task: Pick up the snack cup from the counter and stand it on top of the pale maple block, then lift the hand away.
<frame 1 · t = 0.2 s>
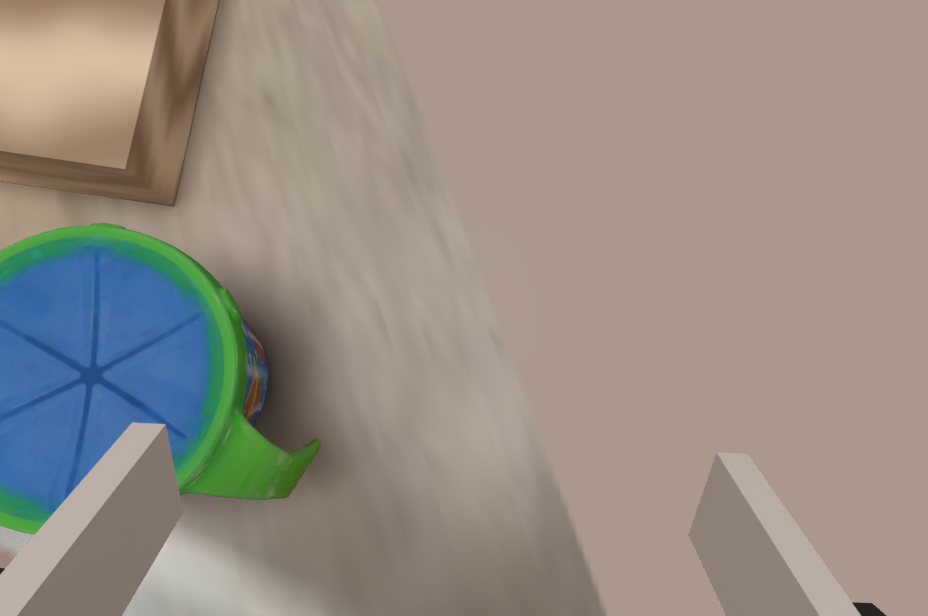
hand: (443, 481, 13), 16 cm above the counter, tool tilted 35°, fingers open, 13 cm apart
maple block: (70, 66, 30), on the counter
snack cup: (198, 380, 29), on the counter
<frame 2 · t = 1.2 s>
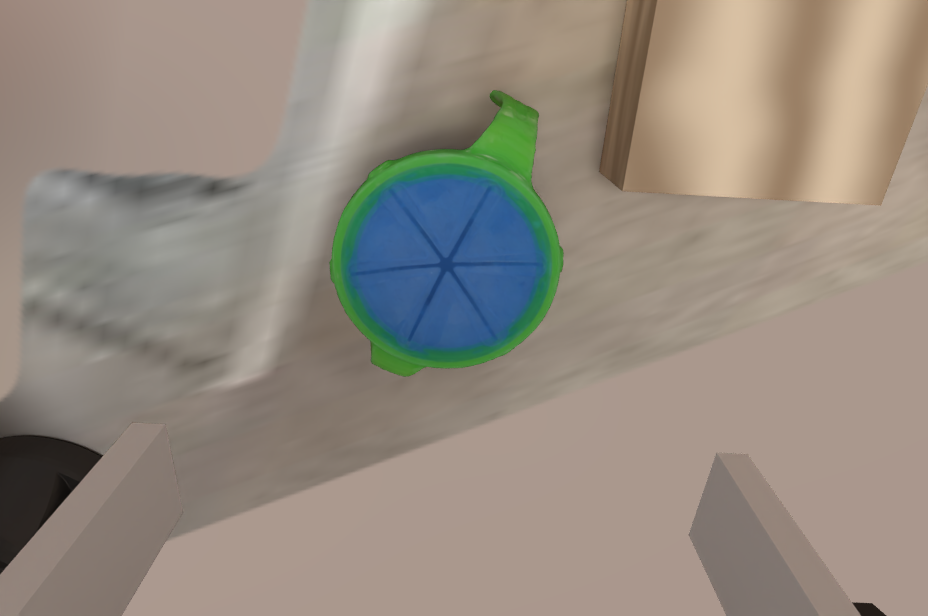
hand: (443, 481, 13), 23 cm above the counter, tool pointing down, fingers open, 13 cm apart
maple block: (744, 51, 31), on the counter
snack cup: (448, 211, 34), on the counter
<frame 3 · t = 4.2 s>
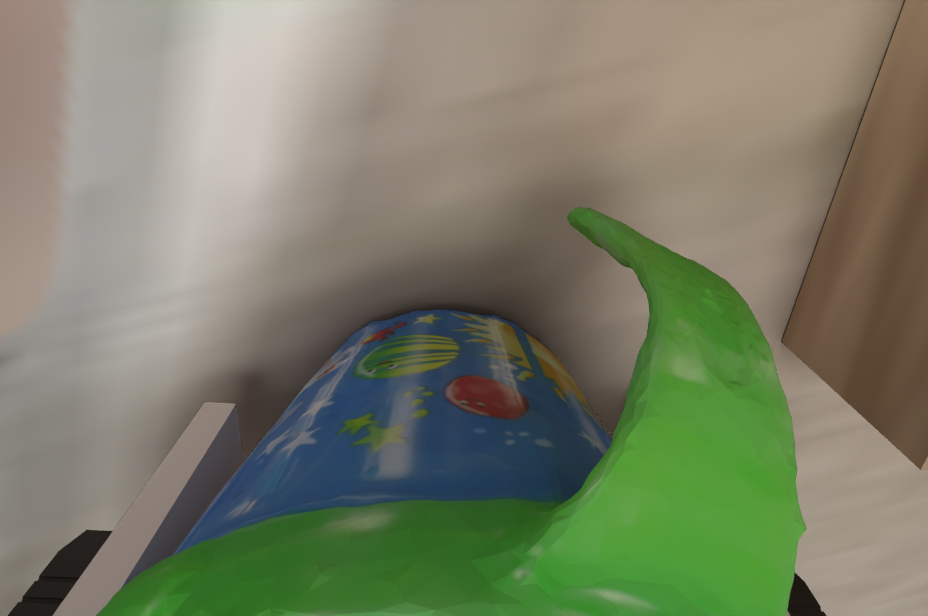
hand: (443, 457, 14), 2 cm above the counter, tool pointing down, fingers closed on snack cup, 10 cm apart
snack cup: (445, 409, 16), on the counter, touching gripper
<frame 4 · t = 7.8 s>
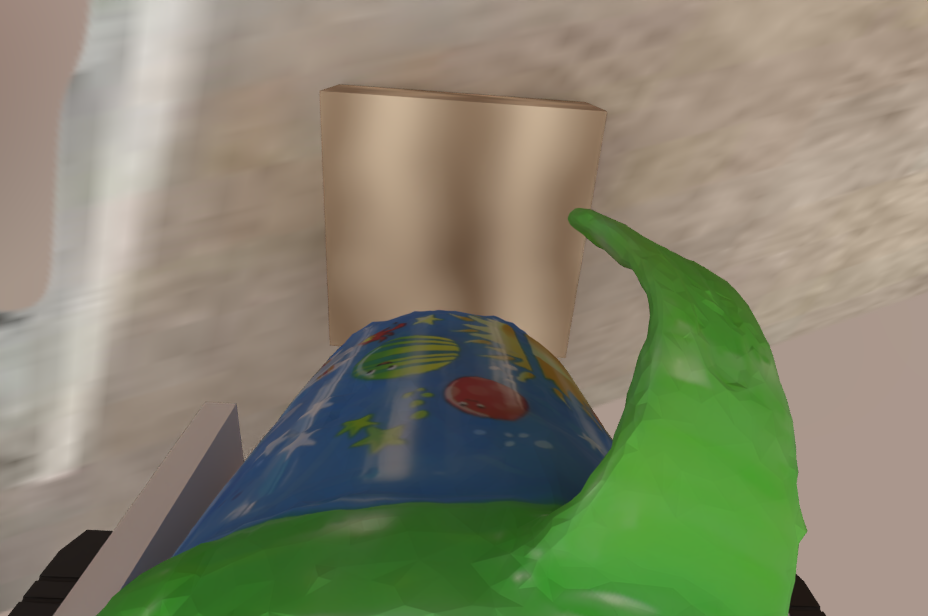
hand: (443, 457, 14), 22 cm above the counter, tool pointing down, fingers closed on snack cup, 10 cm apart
maple block: (456, 213, 34), on the counter
snack cup: (445, 410, 16), point 20 cm above the counter, touching gripper
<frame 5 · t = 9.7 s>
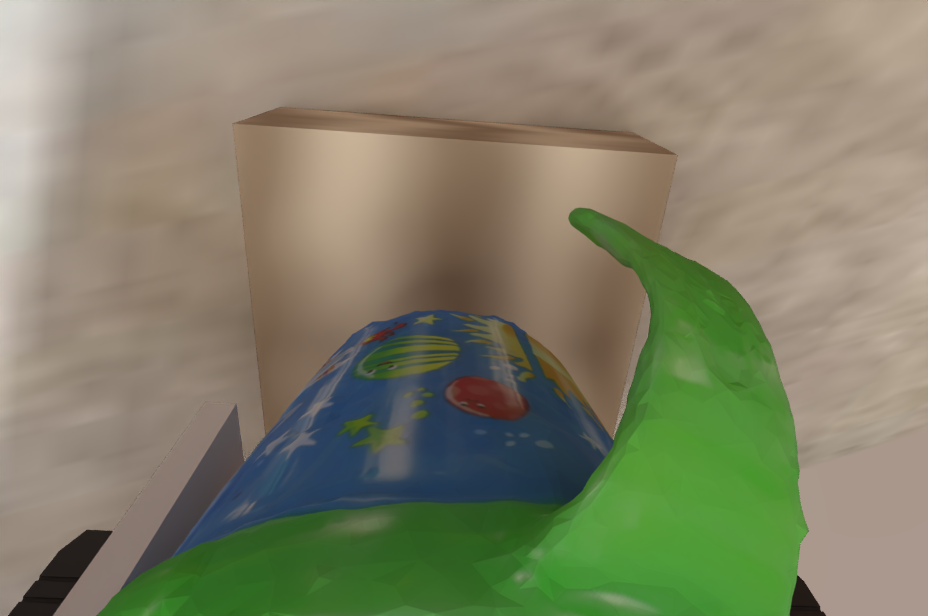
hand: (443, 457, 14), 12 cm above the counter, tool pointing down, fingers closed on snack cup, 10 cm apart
maple block: (448, 282, 25), on the counter
snack cup: (445, 410, 16), point 10 cm above the counter, touching gripper
when the fingers open (8 cm above the counter, at t = 11.4 s): snack cup drops 1 cm, resting on maple block.
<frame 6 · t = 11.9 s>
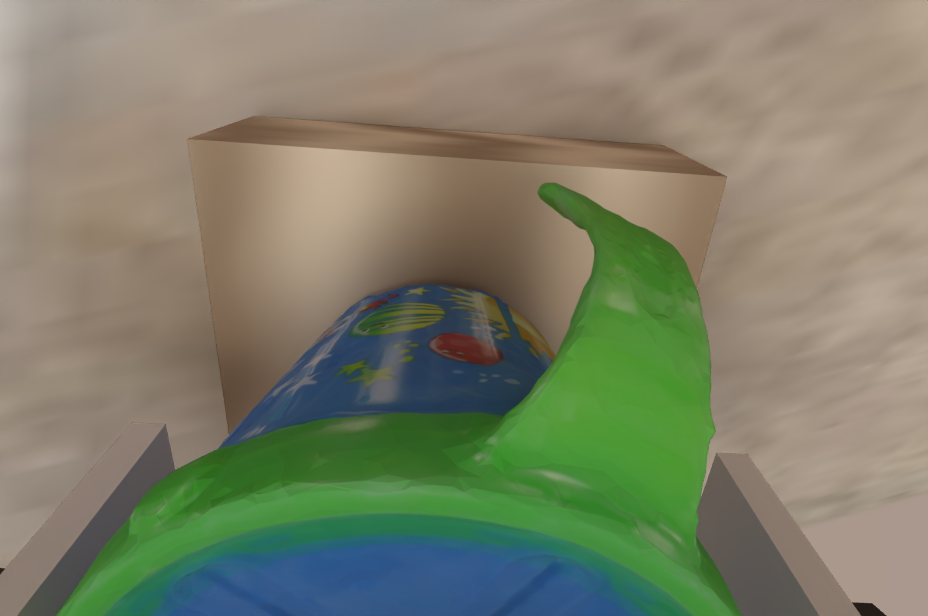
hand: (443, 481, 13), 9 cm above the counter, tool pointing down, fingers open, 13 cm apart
maple block: (449, 314, 22), on the counter
snack cup: (436, 380, 17), point 5 cm above the counter, touching maple block
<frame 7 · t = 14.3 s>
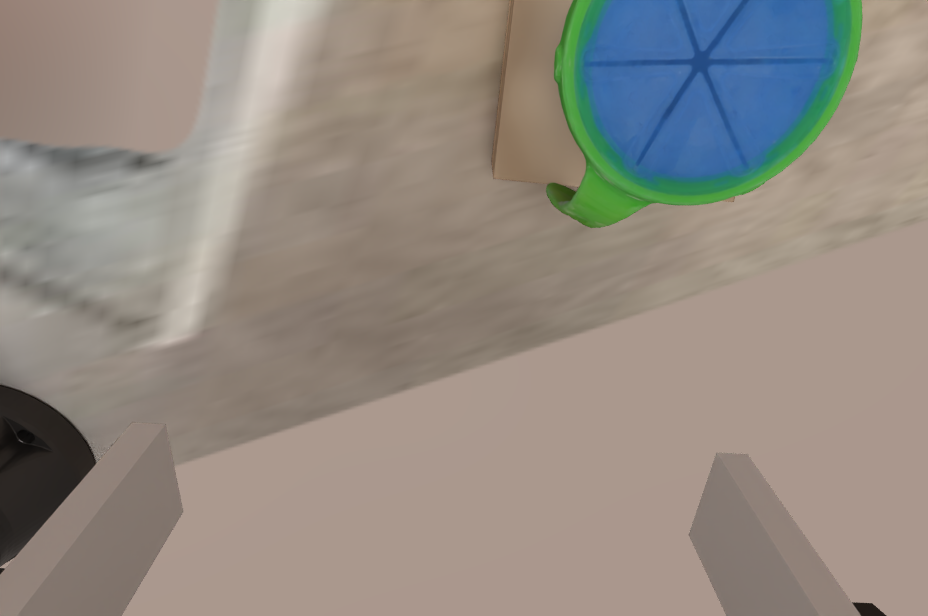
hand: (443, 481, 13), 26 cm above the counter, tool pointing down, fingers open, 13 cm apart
maple block: (620, 55, 33), on the counter
snack cup: (635, 56, 29), point 5 cm above the counter, touching maple block
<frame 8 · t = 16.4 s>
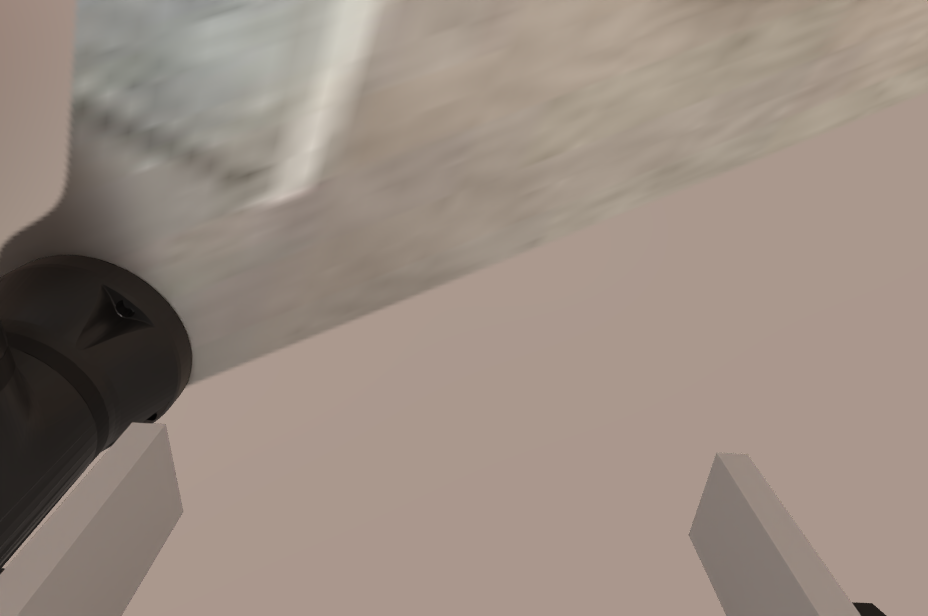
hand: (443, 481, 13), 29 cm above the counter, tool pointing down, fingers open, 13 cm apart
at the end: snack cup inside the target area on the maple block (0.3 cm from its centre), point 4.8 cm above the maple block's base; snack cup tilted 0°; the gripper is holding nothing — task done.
